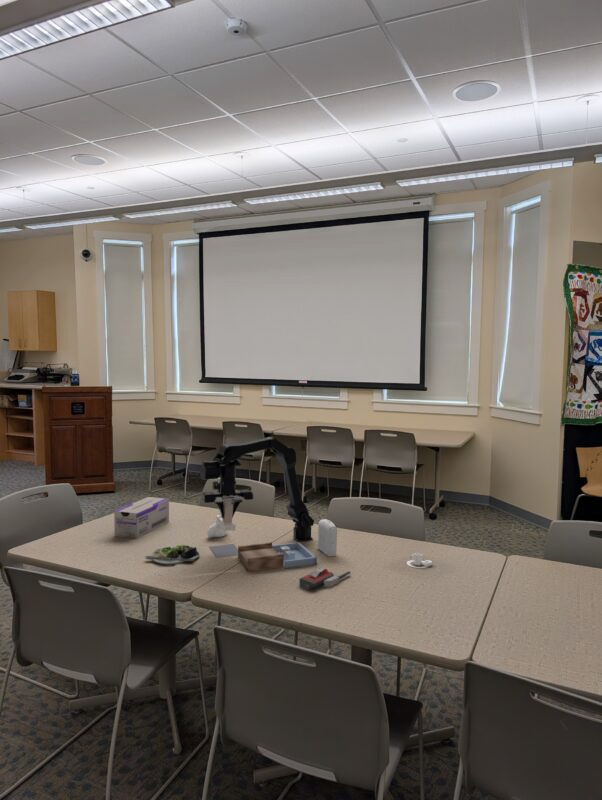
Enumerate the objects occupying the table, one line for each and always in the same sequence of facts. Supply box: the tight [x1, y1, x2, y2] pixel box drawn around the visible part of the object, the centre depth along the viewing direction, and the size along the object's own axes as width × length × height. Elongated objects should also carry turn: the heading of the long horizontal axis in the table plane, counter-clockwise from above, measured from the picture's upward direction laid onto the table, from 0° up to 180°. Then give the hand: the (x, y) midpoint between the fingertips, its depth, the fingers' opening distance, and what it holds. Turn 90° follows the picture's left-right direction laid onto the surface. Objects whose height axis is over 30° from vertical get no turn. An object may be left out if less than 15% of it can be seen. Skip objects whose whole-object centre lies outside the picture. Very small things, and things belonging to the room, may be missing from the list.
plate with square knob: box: [218, 501, 237, 532], centre depth 209 cm, size 4×10×9 cm, turn 22°
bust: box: [206, 512, 228, 539], centre depth 229 cm, size 12×8×11 cm
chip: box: [280, 546, 290, 557], centre depth 206 cm, size 3×3×3 cm
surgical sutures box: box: [113, 496, 170, 539], centre depth 238 cm, size 25×11×11 cm, turn 163°
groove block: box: [237, 542, 284, 572], centre depth 200 cm, size 13×14×4 cm
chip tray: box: [272, 541, 318, 569], centre depth 205 cm, size 12×18×3 cm, turn 21°
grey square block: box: [285, 551, 295, 560], centre depth 202 cm, size 3×3×3 cm
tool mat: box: [208, 543, 238, 559], centre depth 211 cm, size 10×13×1 cm
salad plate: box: [145, 544, 200, 566], centre depth 203 cm, size 19×18×5 cm
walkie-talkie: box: [299, 567, 351, 592], centre depth 184 cm, size 9×4×20 cm
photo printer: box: [317, 518, 338, 557], centre depth 212 cm, size 10×4×12 cm, turn 23°
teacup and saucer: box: [406, 552, 433, 569], centre depth 200 cm, size 9×8×4 cm
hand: (227, 518), depth 209 cm, fingers closed on plate with square knob, 3 cm apart
